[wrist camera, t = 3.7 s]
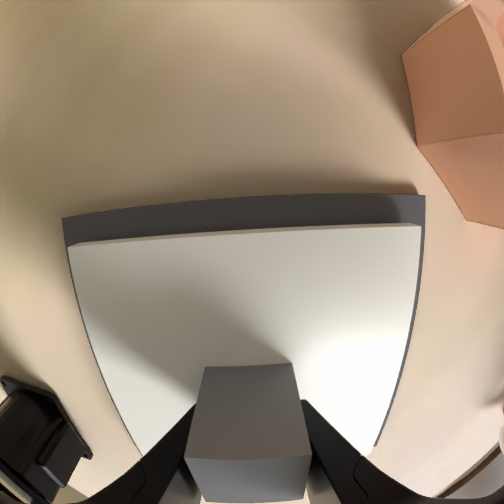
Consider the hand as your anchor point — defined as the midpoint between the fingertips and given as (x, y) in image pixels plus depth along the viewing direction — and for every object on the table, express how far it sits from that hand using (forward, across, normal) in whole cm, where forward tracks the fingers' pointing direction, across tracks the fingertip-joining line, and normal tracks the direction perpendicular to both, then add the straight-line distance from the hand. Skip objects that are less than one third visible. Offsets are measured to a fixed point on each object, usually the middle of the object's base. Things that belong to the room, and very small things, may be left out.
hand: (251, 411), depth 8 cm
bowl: (+2, -12, -11) cm, 16 cm away
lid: (+2, 0, 0) cm, 2 cm away
